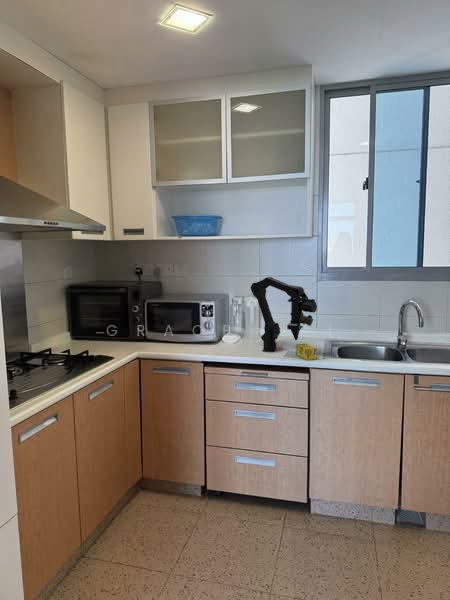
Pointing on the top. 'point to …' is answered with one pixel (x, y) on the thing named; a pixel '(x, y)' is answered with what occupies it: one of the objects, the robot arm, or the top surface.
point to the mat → (291, 354)
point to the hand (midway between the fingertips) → (296, 339)
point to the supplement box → (306, 351)
